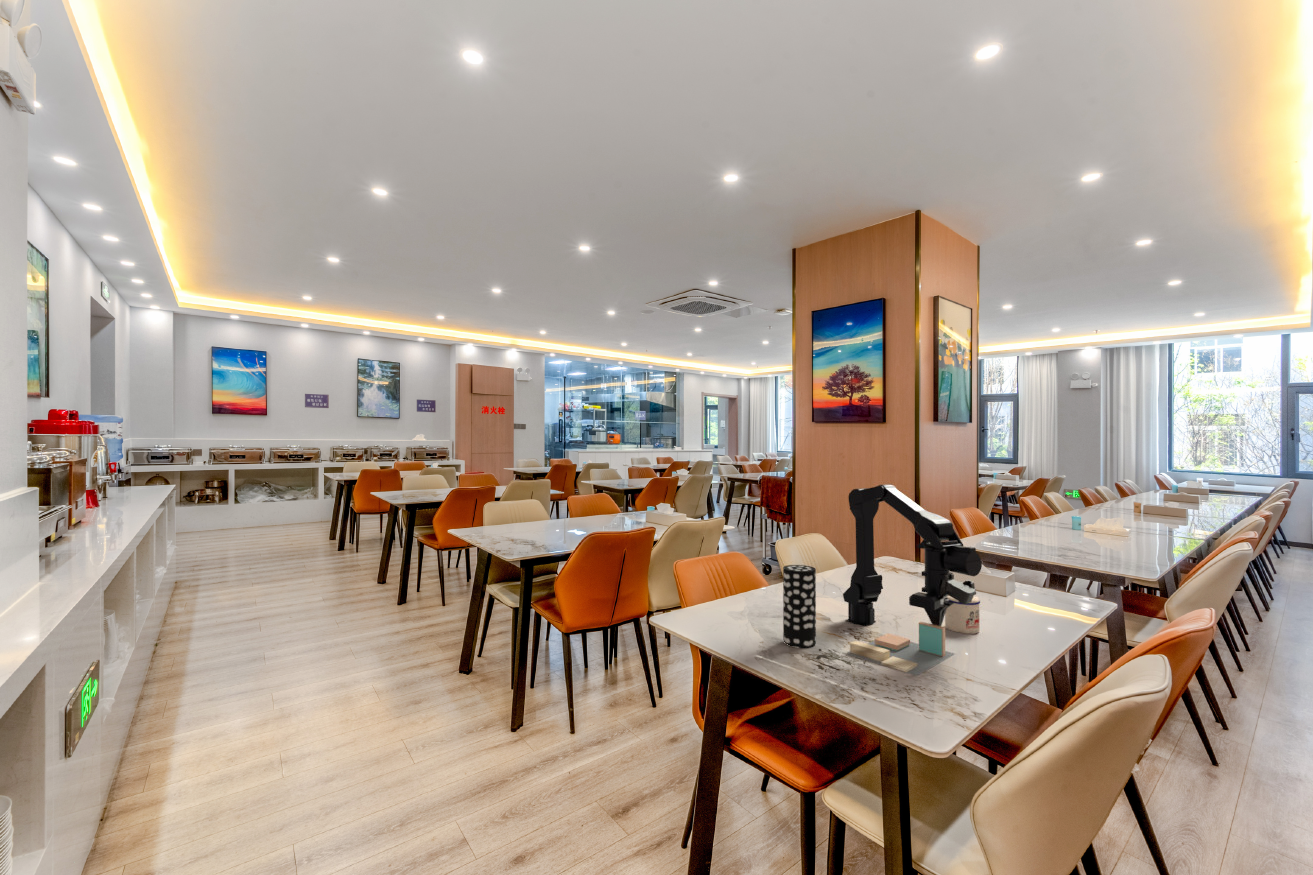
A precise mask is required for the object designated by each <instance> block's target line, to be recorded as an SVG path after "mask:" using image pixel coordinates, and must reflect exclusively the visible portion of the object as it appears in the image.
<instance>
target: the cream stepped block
mask: <svg viewBox="0 0 1313 875" xmlns="http://www.w3.org/2000/svg"><path fill="white" fill-rule="evenodd" d="M849 646H850V647H849V651H850V653H854V654H857V655H860V656H863V657H867V658H870V659H873V660H877V661H880V662H881V665H880V666H883V665H885V666H884V667H886V666H888V667H887V668H889V667H891V668H890V669H893V668H894V669H893V670H896V669H898V670H897V671H899V670H901V671H900V672H902V671H904V672H903V673H905V672H907V671H909V670H911V669H913V668H915V667H917V663H914V662H911V661H907V660H904V659H900V658H897V657H894V656H892V657H890V650H887V649H884V648H880V647H876V646H873V645H869V644H868V643H865V642H862V641H858V640H854V641H851V642H850V643H849Z"/></svg>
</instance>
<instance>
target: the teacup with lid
mask: <svg viewBox="0 0 1313 875" xmlns="http://www.w3.org/2000/svg"><path fill="white" fill-rule="evenodd" d="M947 598H949V601H952V602H955V603H954V604H953V605H951V606H950V607H948V608H947V610H946V612H945V616H944V622H945V623H944V627H945V629H947V630H949V631H952V632H956V633H960V634H966V635H972V634H973V635H974V634H978V633H979V632H980V604H981V601H980V600H981V599H979V598H980V597H977V596H975V595H974V596H973V599H972V601H971V602H969V603H967V604H962V603H960V602H959V601H958V600H956V599H954V598H952V597H951V596H947Z"/></svg>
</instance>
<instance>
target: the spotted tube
mask: <svg viewBox="0 0 1313 875" xmlns="http://www.w3.org/2000/svg"><path fill="white" fill-rule="evenodd" d="M782 570H783V572H782V577H783V578H782V585H783V587H782V588H783V591H782V595H783V596H782V598H783V600H782V601H783V602H782V603H783V606H782V608H783V609H782V610H783V613H782V614H783V616H782V618H783V619H782V620H783V621H782V622H783V627H782V628H783V630H782V631H783V633H782V635H783V640H784V642H785V643H786V644H788V645H790V646H794V647H798V648H797V649H812V648H814V647H816V645H817V614H816V613H817V610H816V609H817V599H816V598H817V597H816V596H817V593H816V591H817V590H816V588H817V587H816V586H817V584H816V583H817V581H816V580H817V578H816V577H817V575H816V573H817V571H816V570H817V569H816V567H814V566H810V565H804V564H789V565H784V566H783V568H782ZM783 640H782V641H783ZM786 644H785V645H786ZM788 645H787V646H788ZM790 646H789V647H790ZM794 647H793V648H794Z"/></svg>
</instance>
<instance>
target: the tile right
mask: <svg viewBox="0 0 1313 875" xmlns="http://www.w3.org/2000/svg"><path fill="white" fill-rule="evenodd" d="M918 644H919V650H920V651H923V652H927V653H931V654H934V655H938V656H942V657H944V656H945V651H946V627H945V626H942V625H941V626H937V625H933V624H932V623H930V622H929V623H928V622H924V621H920V622H918Z"/></svg>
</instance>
